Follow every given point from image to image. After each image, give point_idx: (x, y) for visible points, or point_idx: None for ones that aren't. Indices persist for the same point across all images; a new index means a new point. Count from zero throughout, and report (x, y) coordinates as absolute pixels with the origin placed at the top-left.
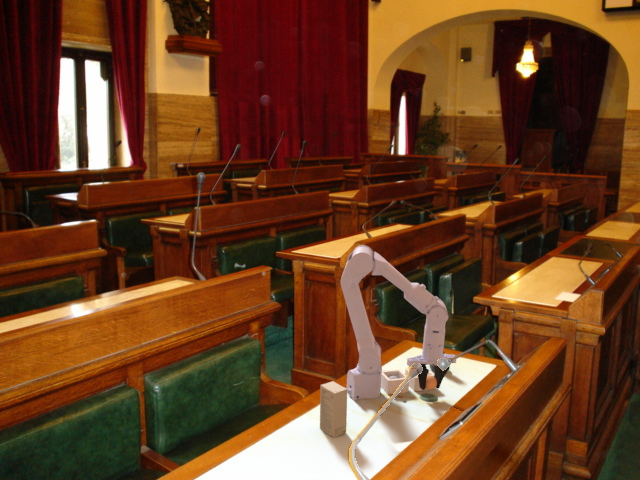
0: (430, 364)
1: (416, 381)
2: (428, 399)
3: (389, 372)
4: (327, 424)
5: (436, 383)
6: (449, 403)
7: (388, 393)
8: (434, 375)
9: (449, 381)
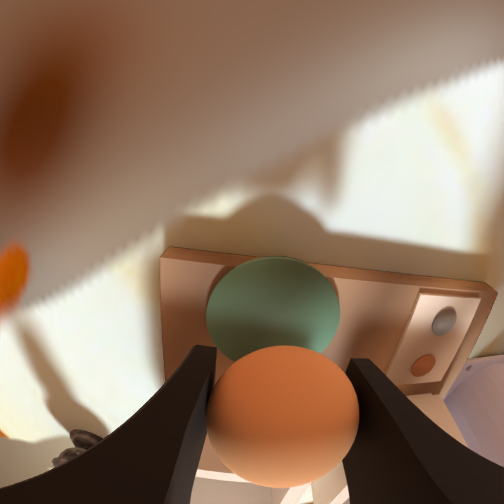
0: None
1: None
2: (295, 301)
3: None
4: None
5: (239, 384)
6: (141, 245)
7: (436, 400)
8: (195, 473)
9: (66, 403)
